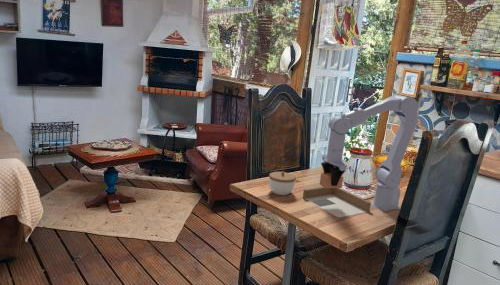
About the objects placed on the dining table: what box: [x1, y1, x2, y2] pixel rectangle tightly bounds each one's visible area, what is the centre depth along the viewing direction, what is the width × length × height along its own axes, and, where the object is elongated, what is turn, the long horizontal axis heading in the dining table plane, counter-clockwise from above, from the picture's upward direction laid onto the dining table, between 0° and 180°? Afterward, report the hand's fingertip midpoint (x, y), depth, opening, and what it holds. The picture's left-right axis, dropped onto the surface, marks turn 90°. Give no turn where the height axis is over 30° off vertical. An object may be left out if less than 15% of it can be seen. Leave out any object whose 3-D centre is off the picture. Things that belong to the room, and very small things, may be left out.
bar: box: [319, 172, 344, 189], centre depth 143 cm, size 7×4×4 cm, turn 106°
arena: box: [302, 186, 372, 219], centre depth 145 cm, size 16×20×4 cm
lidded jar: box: [268, 171, 297, 196], centre depth 152 cm, size 11×11×9 cm
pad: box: [310, 199, 336, 208], centre depth 146 cm, size 8×6×1 cm
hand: (330, 183), depth 143 cm, fingers closed on bar, 4 cm apart
